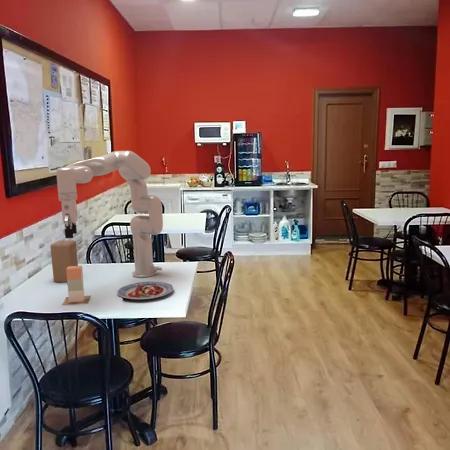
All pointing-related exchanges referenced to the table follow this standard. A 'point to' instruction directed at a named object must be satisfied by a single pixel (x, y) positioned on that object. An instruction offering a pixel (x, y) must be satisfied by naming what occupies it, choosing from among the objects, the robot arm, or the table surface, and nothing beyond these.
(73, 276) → the terracotta brick
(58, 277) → the wooden block
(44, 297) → the table surface
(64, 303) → the walnut board
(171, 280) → the table surface
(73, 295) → the cream base brick
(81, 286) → the sage green brick
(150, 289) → the ceramic plate
